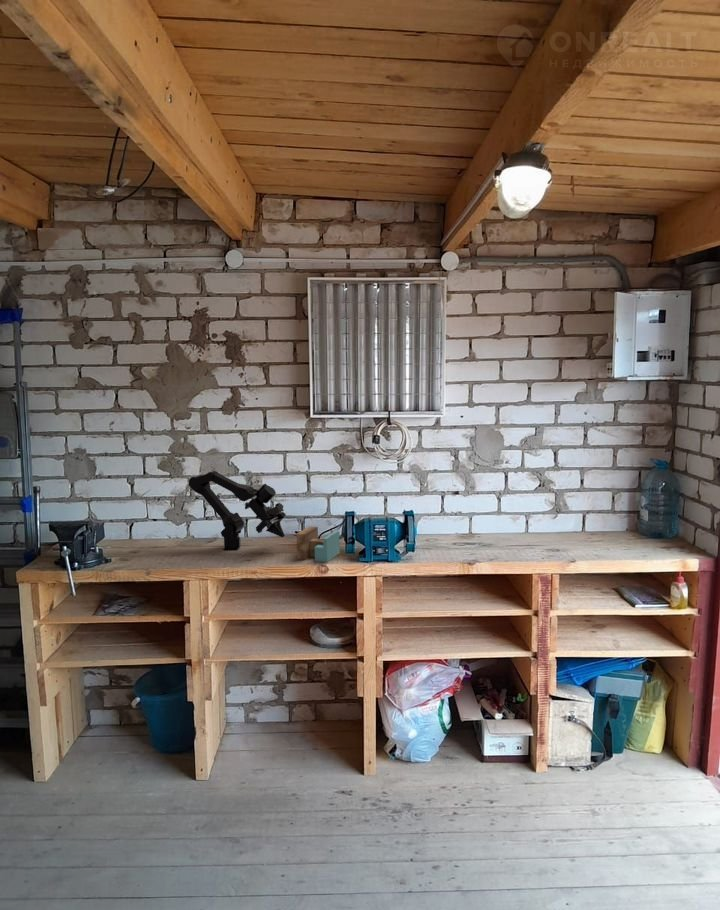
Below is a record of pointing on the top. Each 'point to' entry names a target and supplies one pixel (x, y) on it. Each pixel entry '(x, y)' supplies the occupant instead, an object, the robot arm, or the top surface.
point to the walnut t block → (307, 542)
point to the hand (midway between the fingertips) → (283, 536)
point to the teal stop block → (328, 548)
